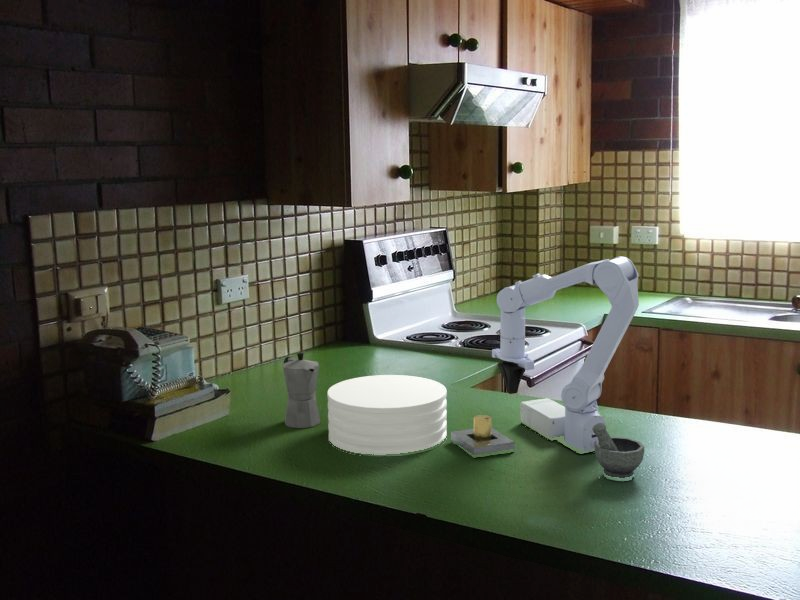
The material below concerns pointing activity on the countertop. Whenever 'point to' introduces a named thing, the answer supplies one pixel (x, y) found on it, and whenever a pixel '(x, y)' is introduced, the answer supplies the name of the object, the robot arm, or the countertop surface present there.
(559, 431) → the skincare box
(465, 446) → the jig
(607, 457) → the mortar and pestle
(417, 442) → the plate stack
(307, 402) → the coffeepot
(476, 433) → the cylinder
